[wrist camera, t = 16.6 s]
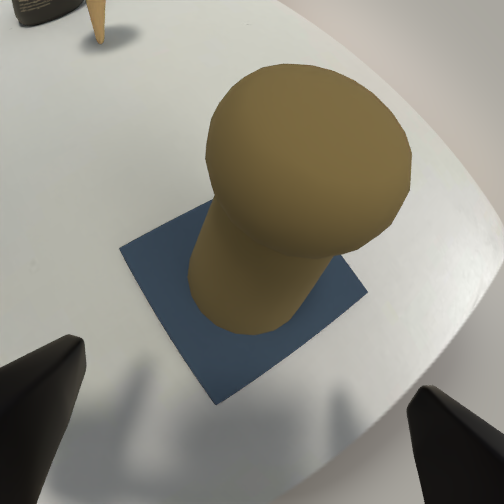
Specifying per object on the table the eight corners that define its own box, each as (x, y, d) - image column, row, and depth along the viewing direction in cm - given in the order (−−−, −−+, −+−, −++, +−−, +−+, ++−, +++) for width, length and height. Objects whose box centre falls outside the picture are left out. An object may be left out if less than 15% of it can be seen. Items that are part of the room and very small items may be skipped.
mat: (215, 405, 14) (216, 405, 13) (120, 250, 16) (118, 248, 15) (365, 293, 17) (368, 291, 17) (272, 172, 19) (273, 169, 19)
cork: (295, 347, 15) (466, 269, 5) (172, 317, 15) (139, 172, 5) (313, 238, 18) (428, 86, 8) (205, 208, 17) (233, 16, 7)
